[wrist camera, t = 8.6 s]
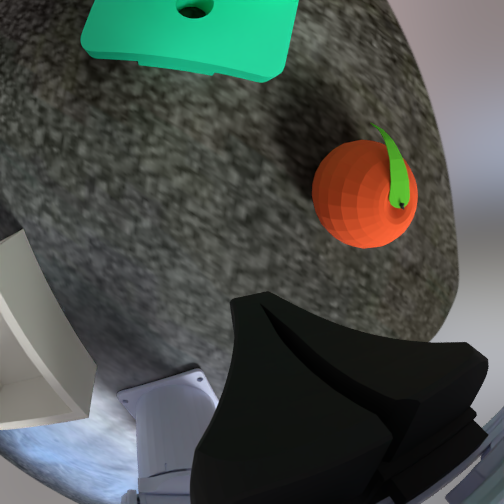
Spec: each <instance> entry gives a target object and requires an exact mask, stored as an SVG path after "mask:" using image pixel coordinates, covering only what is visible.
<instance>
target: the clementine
mask: <svg viewBox="0 0 504 504" xmlns="http://www.w3.org/2000/svg"><path fill="white" fill-rule="evenodd" d="M371 124H372V123H371ZM372 125H373V126H374V127H376V128H377V129H378V130H379V131H380V133H381V135H382V137H383V139H384V140H385V144H386V145H384V144H382V143H379V142H375V141H369V140H357V141H353V142H348V143H344V144H342V145H340V146H338V147H336V148H335V149H333V150H332V151H331V152H330V153H329V154H328V155H327V156H326V157H325V158H324V159H323V160H322V161H321V163H320V165H319V167H318V168H317V170H316V172H315V176H314V180H313V183H312V198H313V203H314V208H315V211H316V213H317V216H318V218H319V220H320V222H321V224H322V225H323V226H324V227H325V228H326V229H327V231H328V232H329V233H330V234H331V235H333V236H334V237H335V238H336V239H338V240H340V241H341V242H343V243H345V244H348V245H351V246H355V247H359V248H371V247H379V246H383V245H386V244H388V243H390V242H392V241H393V240H395V239H396V238H398V237H399V236H400V235H401V234H402V233H404V231H405V230H406V229H407V228H408V226H409V225H410V223H411V221H412V219H413V217H414V214H415V211H416V207H417V199H418V193H417V185H416V181H415V178H414V175H413V173H412V171H411V169H410V167H409V166H408V164H407V162H406V161H405V160H404V159H403V158H402V156H401V154H400V152H399V150H398V148H397V146H396V145H395V143H394V141H393V140H392V139H391V138H390V136H389V135H388V134H387V133H386V132H385V131H384V130H383V129H381V128H379V127H378V126H376V125H374V124H372Z"/></svg>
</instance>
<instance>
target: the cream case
mask: <svg viewBox="0 0 504 504" xmlns="http://www.w3.org/2000/svg"><path fill="white" fill-rule="evenodd" d="M96 370H97V365H96V364H95V362H94V361H93V359H92V358H91V356H90V355H89V353H88V352H87V350H86V349H85V347H84V346H83V344H82V343H81V341H80V339H79V338H78V336H77V335H76V333H75V331H74V330H73V328H72V326H71V325H70V323H69V321H68V320H67V318H66V316H65V314H64V313H63V311H62V309H61V307H60V306H59V304H58V302H57V300H56V298H55V296H54V294H53V293H52V291H51V289H50V287H49V285H48V283H47V281H46V279H45V277H44V275H43V273H42V271H41V268H40V266H39V264H38V262H37V260H36V258H35V255H34V253H33V251H32V249H31V246H30V244H29V241H28V239H27V237H26V234H25V232H24V229H22V230H20V231H18V232H16V233H14V234H13V235H11V236H9V237H7V238H5V239H3V240H2V241H0V430H7V429H17V428H26V427H35V426H42V425H49V424H56V423H62V422H68V421H73V420H79V419H84V418H89V412H90V405H91V398H92V392H93V386H94V381H95V375H96Z"/></svg>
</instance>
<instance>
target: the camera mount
mask: <svg viewBox="0 0 504 504" xmlns="http://www.w3.org/2000/svg"><path fill="white" fill-rule="evenodd" d="M298 1H299V0H95V1H94V4H93V6H92V8H91V11H90V13H89V16H88V18H87V21H86V24H85V26H84V29H83V32H82V35H81V45H82V46H83V48H84V49H85V50H86V52H87V53H88V54H89V55H90V56H91V57H93V58H96V59H115V60H130V61H138V64H139V65H143V66H152V67H161V68H169V69H176V70H182V71H189V72H195V73H200V74H206V75H211V76H212V75H213V74H214V73H215V72H216V73H220V74H225V75H230V76H234V77H239V78H243V79H247V80H251V81H255V82H266V81H268V80H270V79H272V78H274V77H275V76H277V75H279V74H280V73H281V72H282V71H283V69H284V67H285V62H286V58H287V53H288V48H289V43H290V39H291V34H292V29H293V25H294V20H295V15H296V11H297V6H298ZM186 7H197V8H199V9H201V10H203V11H204V12H205V13H206V16H204V17H202V18H197V19H191V18H187V17H184V16H182V15H181V14H180V13H179V12H178V11H179V10H181V9H183V8H186Z"/></svg>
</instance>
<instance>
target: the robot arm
mask: <svg viewBox="0 0 504 504" xmlns="http://www.w3.org/2000/svg"><path fill="white" fill-rule="evenodd" d="M230 307H231V315H232V322H233V329H234V337H235V338H234V347H233V354H232V360H231V365H230V369H229V373H228V376H227V380H226V383H225V387H224V390H223V393H222V395H221V398H220V400H218V398H217V396H216V394H215V393H214V391H213V389H212V387H211V385H210V383H209V381H208V380H207V378H206V376H205V374H204V372H203V370H202V369H199V368H197V369H193V370H190V371H187V372H184V373H181V374H178V375H174V376H171V377H168V378H165V379H161V380H158V381H155V382H151V383H148V384H144V385H141V386H137V387H134V388H130V389H126V390H123V391H119V392H118V393H117V398H118V400H119V401H120V402H121V403H122V405H123V406H124V407H125V408H126V409H127V411H128V412H129V413H130V414H131V415H132V417H133V418H134V419H135V420H136V437H137V459H138V474H139V478H138V490H139V494H136V490H128V491H127V493H125V494H124V495H123V496H122V498H121V504H421V503H422V502H424V501H425V500H427V499H428V498H430V497H431V496H433V495H434V494H435V493H437V492H438V491H439V490H440V489H442V488H443V487H445V486H446V485H447V484H448V483H450V482H451V481H452V480H453V479H454V478H456V477H457V476H458V475H459V474H461V473H462V472H463V471H464V470H465V469H466V468H468V467H469V466H470V465H471V464H472V463H473V462H474V461H475V460H476V459H477V458H478V457H480V456H481V461H480V462H479V463H478V464H477V465H476V466H475V467H474V468H473V469H472V470H471V472H470V473H469V474H468V475H467V476H466V477H465V478H464V479H463V480H462V481H461V482H460V483H459V484H458V485H457V486H456V487H455V488H454V489H453V490H451V491H450V492H449V493H448V494H447V495H446V497H445V499H446V500H447V501H448V502H449V504H504V407H503V408H502V409H501V410H500V411H499V412H498V413H497V414H496V415H495V416H494V417H493V418H492V419H491V420H490V421H489V422H488V423H487V424H486V425H485V426H483V428H481V427H480V426H479V425H478V424H477V423H476V422H475V421H474V420H473V419H474V418H475V417H476V416H477V414H476V412H475V411H474V410H473V409H472V408H471V407H470V406H471V404H472V402H473V401H474V399H475V397H476V395H477V393H478V391H479V390H480V388H481V386H482V384H483V382H484V379H485V377H486V375H487V371H488V359H487V358H486V357H485V356H483V355H482V354H481V353H480V352H478V351H477V350H476V349H475V348H473V347H472V346H471V345H469V344H468V343H467V342H451V343H449V342H447V343H431V342H417V341H407V340H399V339H393V338H387V337H382V336H377V335H373V334H368V333H364V332H361V331H358V330H354V329H351V328H348V327H344V326H342V325H339V324H336V323H334V322H331V321H329V320H326V319H324V318H321V317H319V316H317V315H314V314H312V313H310V312H308V311H306V310H304V309H302V308H300V307H298V306H296V305H294V304H292V303H290V302H288V301H286V300H284V299H282V298H280V297H279V296H277V295H275V294H273V293H271V292H268V291H267V292H262V293H258V294H253V295H248V296H243V297H238V298H234V299H232V300H231V302H230ZM199 377H202V378H200V379H198V378H199ZM124 399H126V400H124Z"/></svg>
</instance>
